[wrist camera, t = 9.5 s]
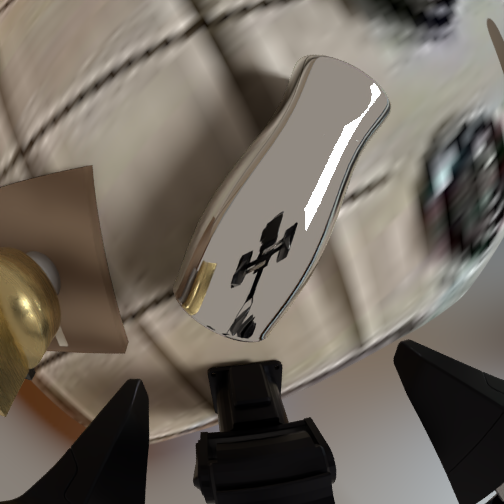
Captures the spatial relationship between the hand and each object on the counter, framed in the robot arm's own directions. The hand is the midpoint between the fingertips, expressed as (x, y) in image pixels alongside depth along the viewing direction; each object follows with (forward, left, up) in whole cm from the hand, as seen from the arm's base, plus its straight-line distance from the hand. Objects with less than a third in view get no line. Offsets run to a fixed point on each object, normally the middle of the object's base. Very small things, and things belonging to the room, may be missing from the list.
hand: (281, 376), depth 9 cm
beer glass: (+11, -6, -9) cm, 15 cm away
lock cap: (-1, +15, -7) cm, 17 cm away
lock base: (0, +15, -12) cm, 19 cm away
